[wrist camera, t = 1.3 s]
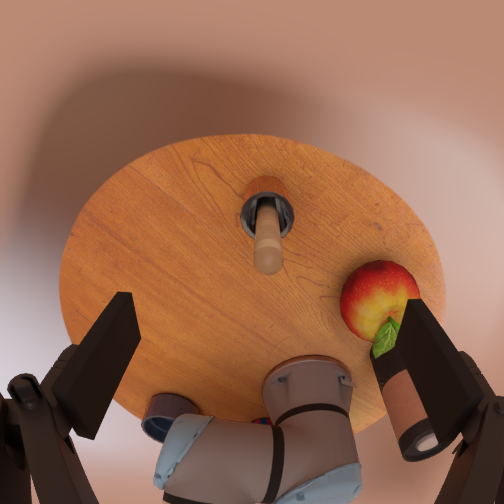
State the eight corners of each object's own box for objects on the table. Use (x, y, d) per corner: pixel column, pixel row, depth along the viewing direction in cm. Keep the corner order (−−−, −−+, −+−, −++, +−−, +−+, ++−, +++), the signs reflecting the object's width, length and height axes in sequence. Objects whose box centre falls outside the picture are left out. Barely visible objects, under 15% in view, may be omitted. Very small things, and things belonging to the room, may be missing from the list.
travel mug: (400, 366, 49) (437, 458, 30) (361, 365, 49) (391, 465, 30) (417, 332, 46) (468, 424, 27) (377, 329, 46) (421, 431, 27)
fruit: (416, 259, 41) (448, 294, 32) (387, 322, 45) (409, 365, 36) (349, 241, 40) (372, 277, 31) (323, 310, 44) (336, 357, 35)
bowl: (202, 425, 56) (198, 449, 51) (154, 419, 57) (147, 442, 51) (197, 394, 52) (191, 419, 47) (144, 388, 53) (135, 411, 47)
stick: (274, 205, 38) (283, 281, 21) (258, 204, 38) (252, 280, 21) (275, 189, 37) (285, 252, 20) (258, 188, 37) (253, 251, 20)
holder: (286, 216, 39) (293, 243, 31) (245, 215, 39) (240, 241, 31) (288, 176, 37) (295, 192, 29) (245, 174, 37) (240, 190, 29)
